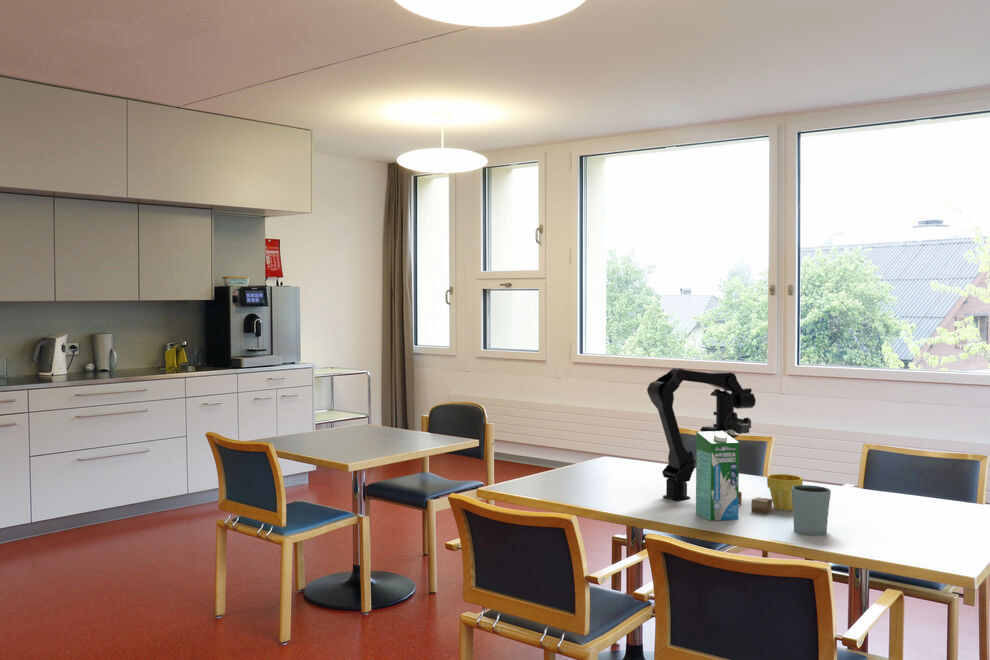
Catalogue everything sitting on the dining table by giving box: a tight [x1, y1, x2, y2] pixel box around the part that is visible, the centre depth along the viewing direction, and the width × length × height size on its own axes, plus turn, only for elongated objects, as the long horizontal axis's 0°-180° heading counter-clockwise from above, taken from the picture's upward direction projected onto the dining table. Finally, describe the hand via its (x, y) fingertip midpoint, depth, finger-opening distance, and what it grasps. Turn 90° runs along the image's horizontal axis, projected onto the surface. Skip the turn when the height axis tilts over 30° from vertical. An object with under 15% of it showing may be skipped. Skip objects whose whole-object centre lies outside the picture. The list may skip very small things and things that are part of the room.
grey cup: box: [791, 484, 832, 536], centre depth 225 cm, size 10×10×12 cm
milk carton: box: [695, 431, 740, 522], centre depth 242 cm, size 9×9×25 cm
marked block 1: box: [738, 491, 743, 505], centre depth 260 cm, size 4×4×4 cm
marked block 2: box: [750, 496, 773, 515], centre depth 248 cm, size 4×4×4 cm
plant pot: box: [766, 473, 804, 511], centre depth 253 cm, size 10×10×10 cm
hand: (724, 455), depth 273 cm, fingers closed
